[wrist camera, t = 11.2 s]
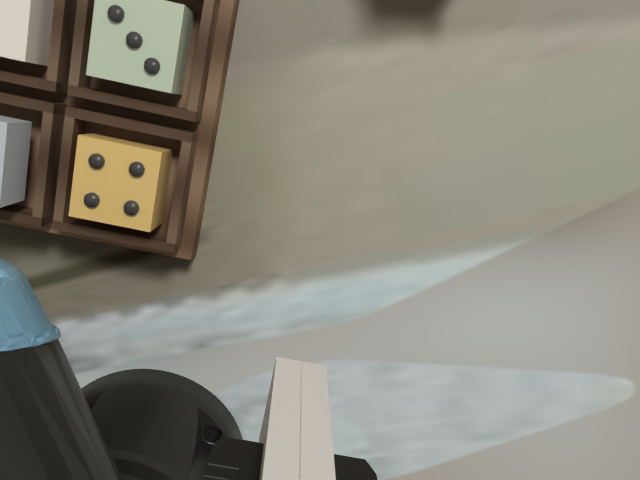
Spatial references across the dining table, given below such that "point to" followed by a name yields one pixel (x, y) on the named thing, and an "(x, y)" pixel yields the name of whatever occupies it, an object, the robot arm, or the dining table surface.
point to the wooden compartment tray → (118, 126)
